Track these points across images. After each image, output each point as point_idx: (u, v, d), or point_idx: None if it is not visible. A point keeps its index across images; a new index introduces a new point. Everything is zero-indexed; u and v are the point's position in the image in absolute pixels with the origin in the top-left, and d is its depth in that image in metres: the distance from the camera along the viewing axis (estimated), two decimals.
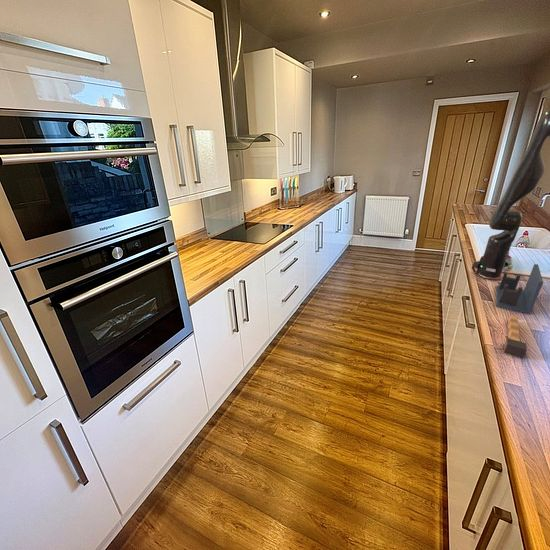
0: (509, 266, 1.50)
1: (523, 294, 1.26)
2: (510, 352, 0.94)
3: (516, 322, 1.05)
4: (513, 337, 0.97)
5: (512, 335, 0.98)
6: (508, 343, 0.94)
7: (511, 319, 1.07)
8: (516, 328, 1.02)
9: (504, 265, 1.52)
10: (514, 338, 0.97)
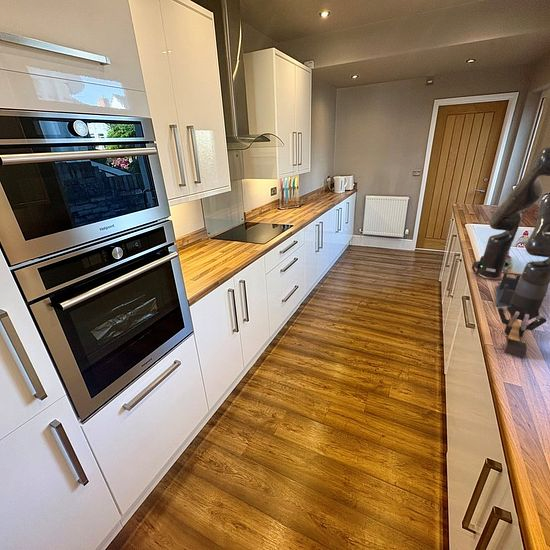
0: (509, 266, 1.50)
1: None
2: (510, 352, 0.94)
3: (516, 322, 1.05)
4: (513, 337, 0.97)
5: (512, 335, 0.98)
6: (508, 343, 0.94)
7: None
8: (516, 328, 1.02)
9: (504, 265, 1.52)
10: (514, 338, 0.97)
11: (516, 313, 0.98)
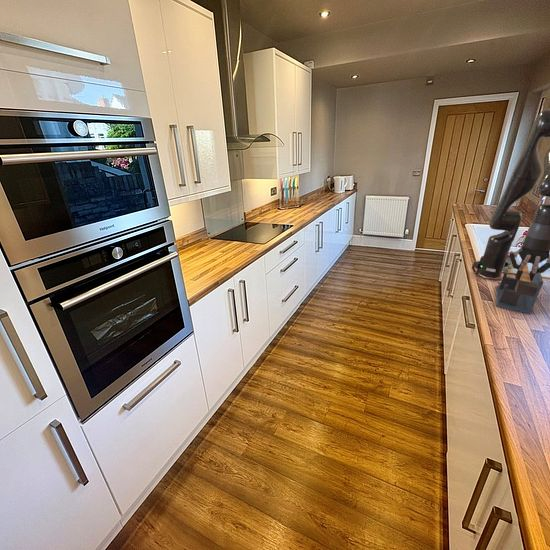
0: (509, 266, 1.50)
1: None
2: (521, 292, 0.98)
3: (526, 268, 1.08)
4: (524, 279, 1.01)
5: (523, 278, 1.02)
6: (519, 283, 0.98)
7: None
8: (526, 273, 1.05)
9: (504, 265, 1.52)
10: (525, 280, 1.01)
11: (527, 256, 1.01)
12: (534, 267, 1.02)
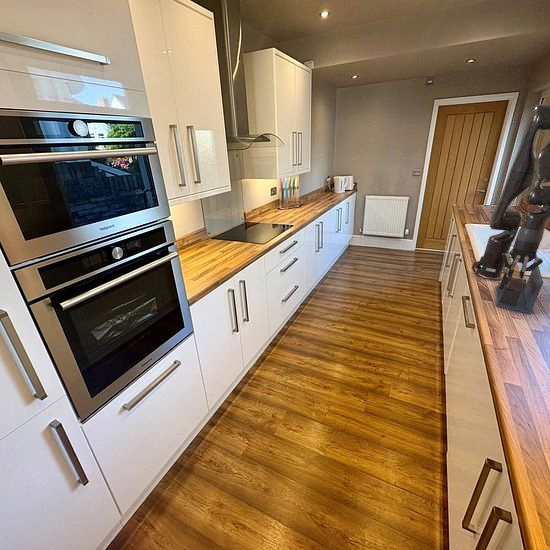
0: None
1: (523, 294, 1.26)
2: (512, 287, 1.12)
3: (517, 268, 1.23)
4: (515, 277, 1.16)
5: (514, 275, 1.17)
6: (511, 280, 1.12)
7: None
8: (517, 271, 1.20)
9: (504, 265, 1.52)
10: (516, 277, 1.15)
11: (517, 257, 1.16)
12: (523, 266, 1.17)
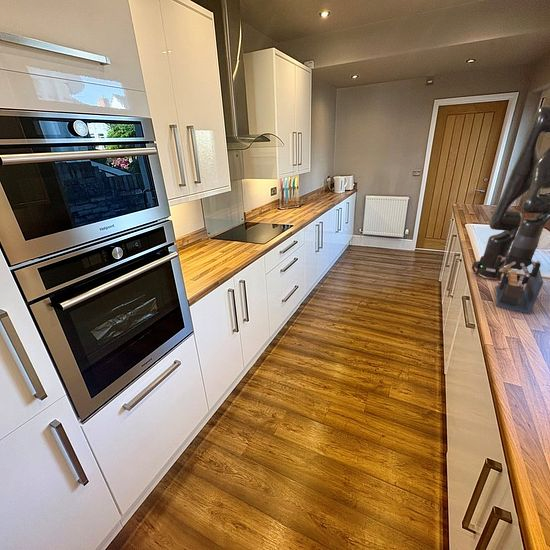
0: None
1: (523, 294, 1.26)
2: (510, 294, 1.14)
3: (515, 274, 1.25)
4: (512, 283, 1.17)
5: (511, 282, 1.18)
6: (508, 287, 1.14)
7: (511, 272, 1.26)
8: (514, 278, 1.21)
9: None
10: (513, 284, 1.16)
11: (513, 263, 1.18)
12: (525, 272, 1.17)
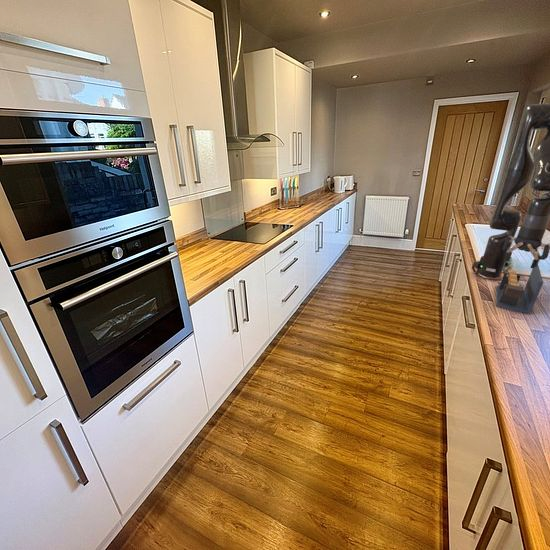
0: (509, 266, 1.50)
1: (523, 294, 1.26)
2: (510, 294, 1.14)
3: (515, 274, 1.25)
4: (512, 283, 1.17)
5: (511, 282, 1.18)
6: (508, 287, 1.14)
7: (511, 272, 1.26)
8: (514, 278, 1.21)
9: (504, 265, 1.52)
10: (513, 284, 1.16)
11: None
12: None
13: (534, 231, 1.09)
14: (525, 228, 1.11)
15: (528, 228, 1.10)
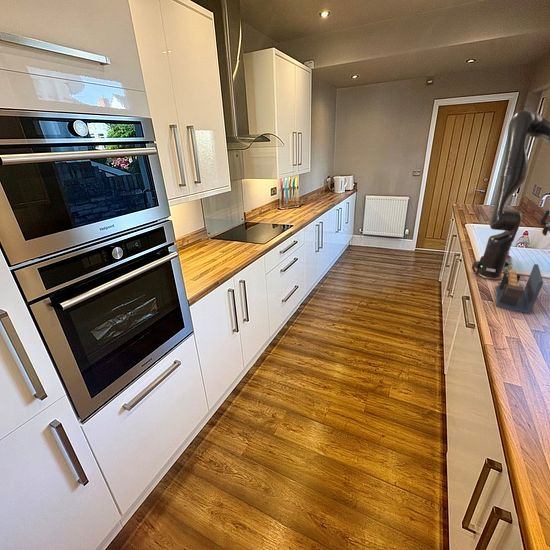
0: (509, 266, 1.50)
1: (523, 294, 1.26)
2: (510, 294, 1.14)
3: (515, 274, 1.25)
4: (512, 283, 1.17)
5: (511, 282, 1.18)
6: (508, 287, 1.14)
7: (511, 272, 1.26)
8: (514, 278, 1.21)
9: (504, 265, 1.52)
10: (513, 284, 1.16)
11: None
12: None
13: None
14: None
15: None
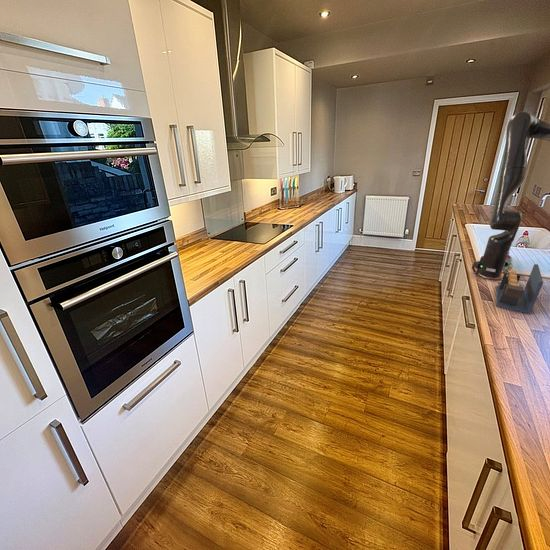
0: (509, 266, 1.50)
1: (523, 294, 1.26)
2: (510, 294, 1.14)
3: (515, 274, 1.25)
4: (512, 283, 1.17)
5: (511, 282, 1.18)
6: (508, 287, 1.14)
7: (511, 272, 1.26)
8: (514, 278, 1.21)
9: (504, 265, 1.52)
10: (513, 284, 1.16)
11: None
12: None
13: None
14: None
15: None
